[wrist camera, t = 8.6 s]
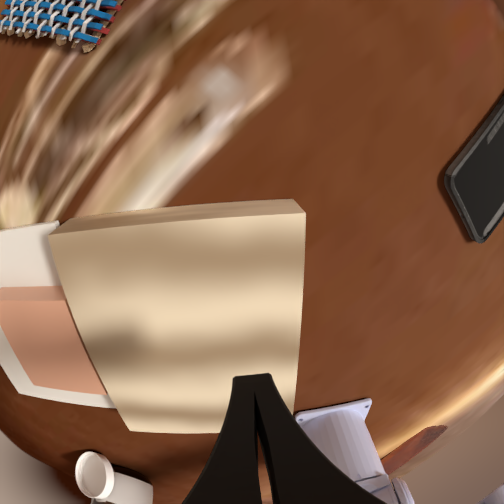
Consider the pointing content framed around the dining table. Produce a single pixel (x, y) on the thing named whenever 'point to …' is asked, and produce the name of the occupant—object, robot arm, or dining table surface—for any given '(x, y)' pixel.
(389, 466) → the wooden tablet
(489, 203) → the phone
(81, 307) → the block
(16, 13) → the woven mat
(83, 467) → the spread jar
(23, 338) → the tile
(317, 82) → the dining table surface
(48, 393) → the mat
